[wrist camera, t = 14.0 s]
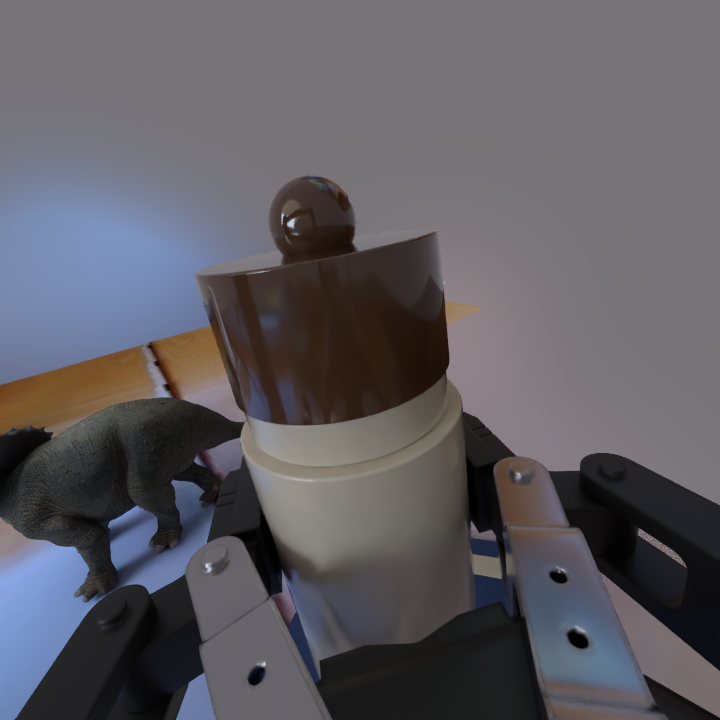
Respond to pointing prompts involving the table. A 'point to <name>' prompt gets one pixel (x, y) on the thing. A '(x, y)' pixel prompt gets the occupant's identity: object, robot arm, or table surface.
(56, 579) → the table surface
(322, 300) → the pepper mill
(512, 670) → the robot arm
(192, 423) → the toy dinosaur
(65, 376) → the table surface
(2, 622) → the table surface
